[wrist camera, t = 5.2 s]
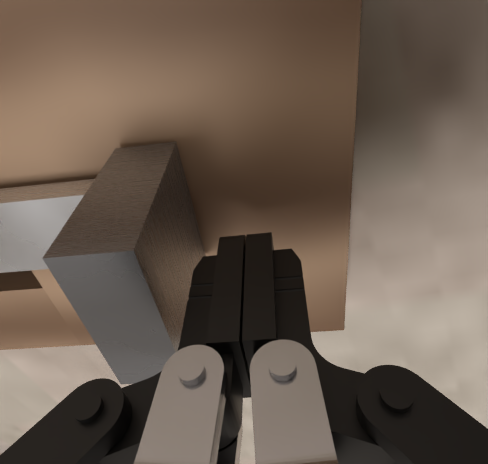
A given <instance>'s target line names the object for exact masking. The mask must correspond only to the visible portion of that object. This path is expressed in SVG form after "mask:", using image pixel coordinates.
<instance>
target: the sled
mask: <svg viewBox="0 0 488 464" xmlns="http://www.w3.org/2000/svg"><path fill="white" fill-rule="evenodd" d="M203 256H206V254H205V250H204V246H203V242H202V239H201V235H200V231H199V227H198V223H197V219H196V216H195V212H194V208H193V204H192V200H191V196H190V192H189V189H188V185H187V181H186V177H185V173H184V169H183V166H182V162H181V158H180V154H179V150H178V146H177V142H167V143H158V144H149V145H140V146H132V147H123V148H115V150H114V151H113V153H112V154H111V156H110V157H109V159H108V160H107V162H106V163H105V165H104V166H103V168H102V169H101V171H100V172H99V174H98V175H97V177H96V178H95V179H89V180H79V181H70V182H60V183H51V184H41V185H32V186H22V187H13V188H3V189H0V273H5V272H17V271H30V270H42V269H49V270H50V271H51V273H52V275H53V276H54V278H55V279H56V281H57V283H58V284H59V286H60V287H61V289H62V291H63V292H64V294H65V295H66V297H67V299H68V300H69V302H70V303H71V305H72V307H73V308H74V310H75V311H76V313H77V315H78V316H79V318H80V319H81V321H82V323H83V324H84V326H85V327H86V329H87V331H88V332H89V334H90V335H91V337H92V339H93V340H94V342H95V343H96V345H97V347H98V348H99V350H100V351H101V353H102V355H103V356H104V358H105V359H106V361H107V363H108V364H109V366H110V367H111V369H112V371H113V372H114V374H115V375H116V377H117V379H118V380H119V382H120V383H121V384H134V383H137V382H140V381H142V380H145V379H148V378H150V377H152V376H154V375H156V374H158V373H159V372H161V371H162V369H163V367H164V365H165V363H166V362H167V360H168V359H169V358H170V357H171V356H172V355H173V354H174V353H176V352H177V350H178V347H179V343H180V338H181V332H182V327H183V322H184V317H185V312H186V306H187V301H188V300H189V297H188V296H189V291H190V287H191V280H192V275H193V270H194V268H195V267H196V266H197V264H198V263H199V261H200V260H201V259H202V257H203Z"/></svg>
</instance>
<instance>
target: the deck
mask: <svg viewBox="0 0 488 464" xmlns="http://www.w3.org/2000/svg"><path fill="white" fill-rule="evenodd" d="M361 7H362V0H0V189H3V188H13V187H22V186H32V185H41V184H51V183H60V182H70V181H79V180H89V179H95V178H96V177H97V175H98V174H99V172H100V171H101V169H102V168H103V166H104V165H105V163H106V162H107V160H108V159H109V157H110V156H111V154H112V153H113V151H114V150H115V148H123V147H132V146H140V145H149V144H158V143H167V142H177V146H178V150H179V154H180V158H181V162H182V166H183V169H184V173H185V177H186V181H187V185H188V189H189V192H190V196H191V200H192V204H193V208H194V212H195V216H196V219H197V223H198V227H199V231H200V235H201V239H202V242H203V246H204V250H205V254H206V256H213V255H217V250H218V243H219V238H220V237H226V236H237V235H245V236H246V235H247V234H257V233H268V232H272V237H273V245H274V250H280V249H292V250H293V251H294V252H295V253H296V255H297V256H298V257H299V259H300V260H301V265H302V272H303V280H304V287H305V295H306V302H307V310H308V317H309V325H310V332H317V331H334V330H344V321H345V302H346V284H347V265H348V247H349V229H350V210H351V192H352V173H353V155H354V136H355V118H356V99H357V81H358V62H359V44H360V25H361ZM92 344H96V343H95V342H94V340H93V339H92V337H91V335H90V334H89V332H88V331H87V329H86V327H85V326H84V324H83V323H82V321H81V319H80V318H79V316H78V315H77V313H76V311H75V310H74V308H73V307H72V305H71V303H70V302H69V300H68V299H67V297H66V295H65V294H64V292H63V291H62V289H61V287H60V286H59V284H58V283H57V281H56V279H55V278H54V276H53V275H52V273H51V271H50V270H49V269H42V270H30V271H17V272H5V273H0V350H6V349H23V348H41V347H58V346H75V345H92Z"/></svg>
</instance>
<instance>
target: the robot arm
mask: <svg viewBox="0 0 488 464" xmlns="http://www.w3.org/2000/svg"><path fill="white" fill-rule="evenodd" d="M188 297H189V300H188V301H187V306H186V312H185V317H184V322H183V327H182V332H181V338H180V343H179V347H178V350H177V352H176V353H174V354H173V355H172V356H171V357H170V358H169V359H168V360H167V362H166V363H165V365H164V367H163V369H162V371H161V372H159V373H158V374H156V375H154V376H152V377H150V378H148V379H145V380H142V381H140V382H137V383H134V384H132V385H129V386H126V387H124V388H121V387H120V386H119V385H118V384H117V383H116V382H115V381H112V380H110V379H94V380H91V381H88V382H86V383H84V384H82V385H81V386H79V387H78V388H76V389H75V390H74V391H73V392H72V393H70V394H69V395H68V396H67V397H66V398H65V399H64V400H63V401H61V402H60V403H59V404H58V405H57V406H56V407H55V408H53V409H52V410H51V411H50V412H49V413H48V414H47V415H46V416H44V417H43V418H42V419H41V420H40V421H39V422H38V423H36V424H35V425H34V426H33V427H32V428H31V429H30V430H29V431H27V432H26V433H25V434H24V435H23V436H22V437H21V438H19V439H18V440H17V441H16V442H15V443H14V444H13V445H12V446H10V447H9V448H8V449H7V450H6V451H5V452H4V453H2V454H1V455H0V464H239V461H240V451H241V441H242V428H243V427H242V403H243V398H247V397H251V398H252V414H253V430H254V445H255V461H256V464H488V429H487V428H486V427H485V426H483V425H482V424H481V423H479V422H478V421H477V420H475V419H474V418H473V417H472V416H470V415H469V414H468V413H466V412H465V411H464V410H462V409H461V408H460V407H459V406H457V405H456V404H455V403H453V402H452V401H451V400H449V399H448V398H447V397H445V396H444V395H443V394H442V393H440V392H439V391H438V390H436V389H435V388H434V387H432V386H431V385H430V384H429V383H427V382H426V381H425V380H423V379H422V378H421V377H419V376H418V375H417V374H415V373H414V372H412V371H410V370H408V369H406V368H403V367H400V366H395V365H381V366H377V367H374V368H372V369H370V370H369V371H367V372H366V373H365V374H364V373H360V372H356V371H352V370H348V369H344V368H341V367H338V366H336V365H333V364H331V363H330V362H328V361H327V360H325V359H324V358H323V357H322V356H321V355H320V354H319V353H318V352H317V350H316V349H315V347H314V345H313V343H312V339H311V333H310V325H309V317H308V310H307V302H306V295H305V287H304V280H303V272H302V265H301V260H300V259H299V257H298V256H297V255H296V253H295V252H294V251H293V250H292V249H280V250H274V245H273V237H272V232H268V233H257V234H247V235H246V236H245V235H237V236H226V237H220V238H219V243H218V250H217V255H213V256H203V257H202V259H201V260H200V261H199V263H198V264H197V266H196V267H195V268H194V270H193V275H192V280H191V287H190V291H189V296H188Z"/></svg>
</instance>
